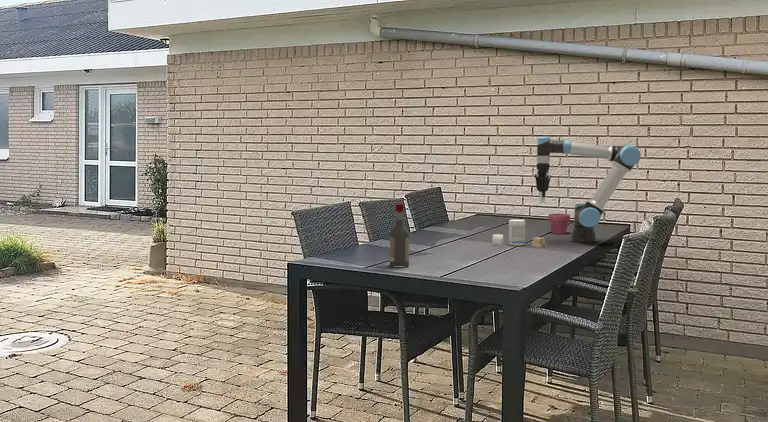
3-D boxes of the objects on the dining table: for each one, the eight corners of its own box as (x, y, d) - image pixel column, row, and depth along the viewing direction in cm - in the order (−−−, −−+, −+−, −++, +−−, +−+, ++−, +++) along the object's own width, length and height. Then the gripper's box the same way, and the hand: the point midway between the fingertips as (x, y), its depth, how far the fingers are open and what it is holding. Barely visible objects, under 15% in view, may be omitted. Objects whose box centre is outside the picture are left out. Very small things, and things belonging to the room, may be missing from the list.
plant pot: (552, 231, 484) (553, 212, 483) (572, 233, 476) (573, 214, 475) (544, 233, 473) (544, 214, 471) (564, 235, 464) (565, 215, 463)
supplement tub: (528, 245, 419) (529, 220, 417) (516, 246, 414) (517, 221, 412) (516, 243, 427) (517, 218, 425) (505, 244, 422) (505, 219, 420)
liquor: (407, 264, 352) (408, 203, 349) (409, 267, 342) (409, 205, 340) (389, 264, 351) (389, 203, 348) (390, 267, 342) (390, 205, 339)
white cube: (498, 243, 424) (499, 233, 424) (504, 245, 419) (505, 235, 418) (490, 244, 422) (490, 234, 421) (496, 245, 416) (496, 235, 416)
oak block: (537, 245, 418) (537, 237, 418) (544, 246, 415) (544, 238, 414) (532, 246, 415) (532, 238, 415) (539, 247, 411) (539, 238, 411)
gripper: (531, 162, 428) (530, 201, 430) (545, 163, 416) (543, 203, 418) (541, 162, 431) (540, 201, 433) (555, 163, 419) (554, 203, 422)
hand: (542, 202), depth 426 cm, fingers closed
